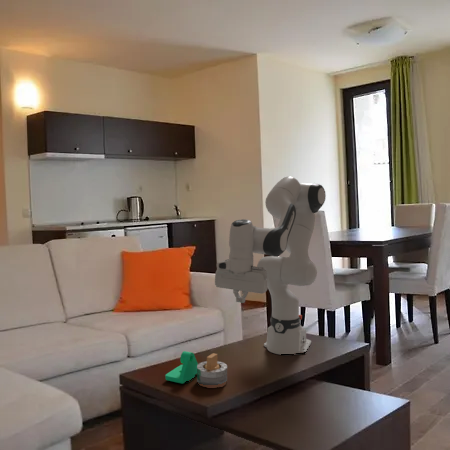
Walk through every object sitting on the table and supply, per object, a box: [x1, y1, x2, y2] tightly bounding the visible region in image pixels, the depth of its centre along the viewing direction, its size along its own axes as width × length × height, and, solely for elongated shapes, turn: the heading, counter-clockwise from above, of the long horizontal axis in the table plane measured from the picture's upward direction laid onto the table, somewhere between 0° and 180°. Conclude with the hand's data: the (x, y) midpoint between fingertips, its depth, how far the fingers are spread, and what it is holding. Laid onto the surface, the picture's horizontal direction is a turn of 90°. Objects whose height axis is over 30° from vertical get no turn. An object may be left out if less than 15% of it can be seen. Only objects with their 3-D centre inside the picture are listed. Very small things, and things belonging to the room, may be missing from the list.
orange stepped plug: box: [205, 352, 219, 370], centre depth 193 cm, size 5×5×6 cm
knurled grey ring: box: [196, 360, 228, 385], centre depth 193 cm, size 11×11×6 cm
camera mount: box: [164, 350, 199, 384], centre depth 197 cm, size 12×8×10 cm, turn 153°
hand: (240, 302), depth 199 cm, fingers closed
